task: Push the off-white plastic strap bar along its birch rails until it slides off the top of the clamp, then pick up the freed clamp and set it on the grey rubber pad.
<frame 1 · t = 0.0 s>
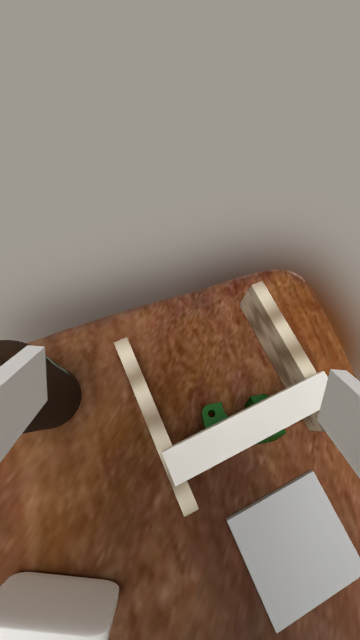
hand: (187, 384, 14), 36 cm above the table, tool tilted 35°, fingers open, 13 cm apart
clamp: (234, 423, 48), on the table
olive oil: (52, 397, 47), on the table
strap bar: (252, 424, 38), point 10 cm above the table, slide at 0.0 cm
cable organizer: (64, 620, 39), on the table
grey pad: (293, 543, 43), on the table
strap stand: (218, 388, 49), on the table
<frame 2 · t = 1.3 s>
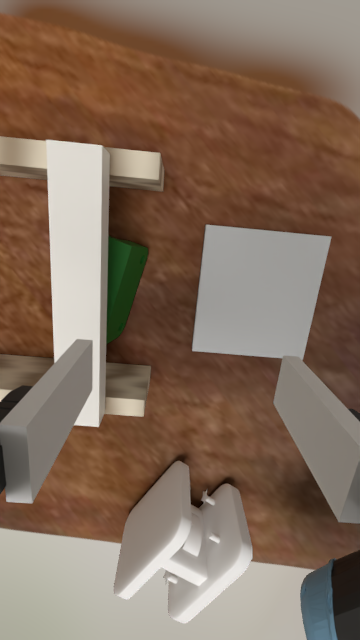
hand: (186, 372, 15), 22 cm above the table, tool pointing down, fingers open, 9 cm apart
clamp: (107, 281, 35), on the table
strap bar: (80, 300, 26), point 10 cm above the table, slide at 0.0 cm
cable organizer: (181, 495, 45), on the table
grey pad: (255, 295, 36), on the table
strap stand: (55, 277, 35), on the table
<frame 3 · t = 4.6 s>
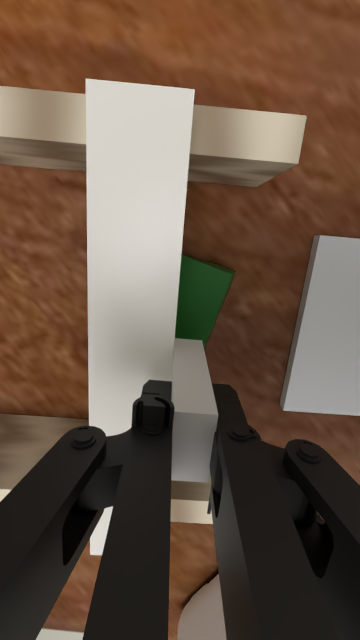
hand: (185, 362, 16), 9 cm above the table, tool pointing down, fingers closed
clamp: (170, 317, 25), on the table
strap bar: (133, 366, 15), point 10 cm above the table, slide at 1.3 cm, touching gripper
cable organizer: (249, 585, 35), on the table
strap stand: (93, 311, 24), on the table
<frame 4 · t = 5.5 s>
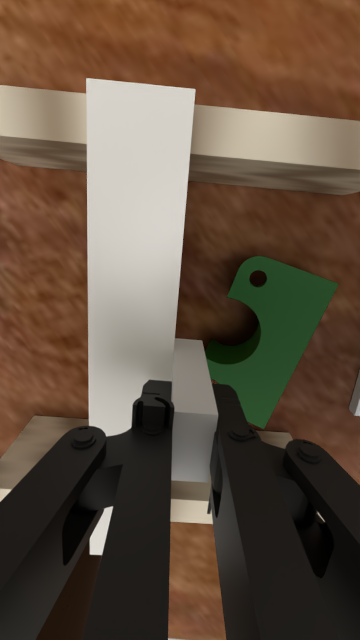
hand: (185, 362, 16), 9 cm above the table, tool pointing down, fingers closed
clamp: (247, 323, 25), on the table
olive oil: (61, 531, 32), on the table
strap bar: (133, 366, 15), point 10 cm above the table, slide at 7.8 cm, touching gripper
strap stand: (171, 317, 25), on the table
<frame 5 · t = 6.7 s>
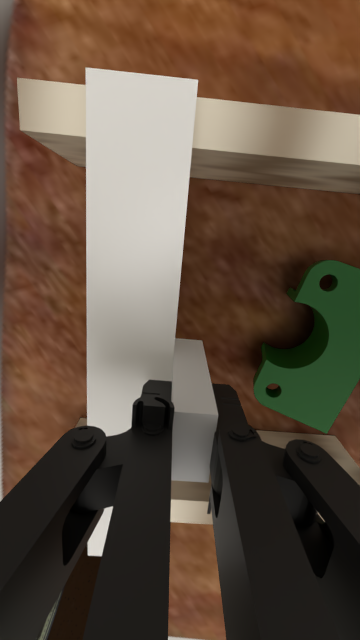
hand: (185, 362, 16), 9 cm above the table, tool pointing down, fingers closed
clamp: (300, 327, 25), on the table
olive oil: (101, 533, 32), on the table
strap bar: (133, 364, 15), point 10 cm above the table, slide at 12.2 cm, touching gripper
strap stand: (224, 320, 25), on the table
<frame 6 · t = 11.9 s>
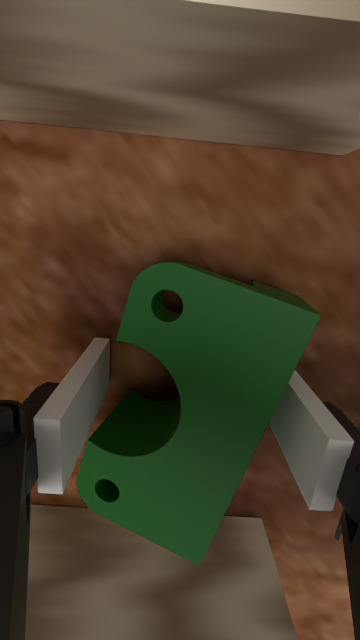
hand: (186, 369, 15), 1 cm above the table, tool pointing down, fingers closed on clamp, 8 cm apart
clamp: (186, 365, 16), on the table, touching gripper
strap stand: (71, 354, 16), on the table
when the fingers open (3 cm above the table, at t = 20.2 s): clamp stays where it is, resting on grey pad.
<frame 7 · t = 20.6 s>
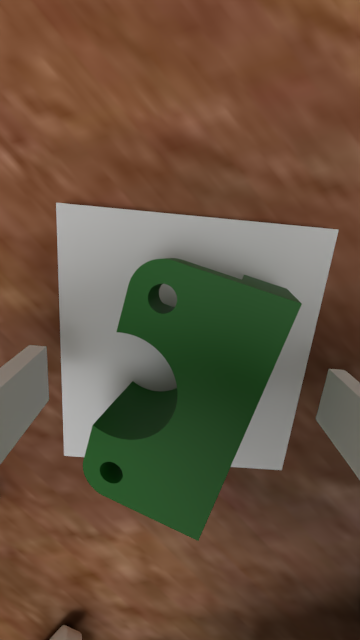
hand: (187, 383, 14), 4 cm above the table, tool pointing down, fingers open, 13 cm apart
clamp: (184, 357, 17), point 1 cm above the table, touching grey pad
grey pad: (184, 349, 18), on the table
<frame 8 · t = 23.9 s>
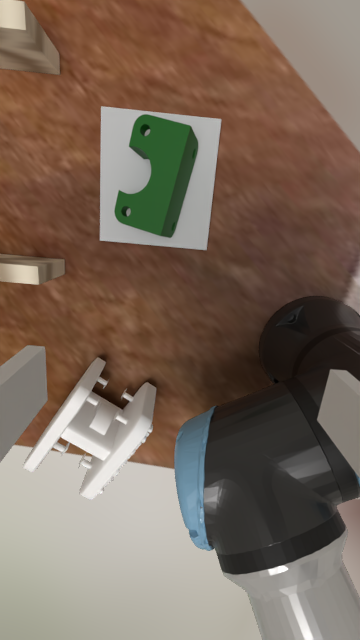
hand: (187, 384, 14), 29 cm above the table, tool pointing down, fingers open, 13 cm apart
clamp: (158, 185, 37), point 1 cm above the table, touching grey pad
cable organizer: (106, 399, 47), on the table
grey pad: (157, 184, 37), on the table
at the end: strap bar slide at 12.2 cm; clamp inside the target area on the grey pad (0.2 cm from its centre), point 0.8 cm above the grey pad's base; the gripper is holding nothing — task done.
